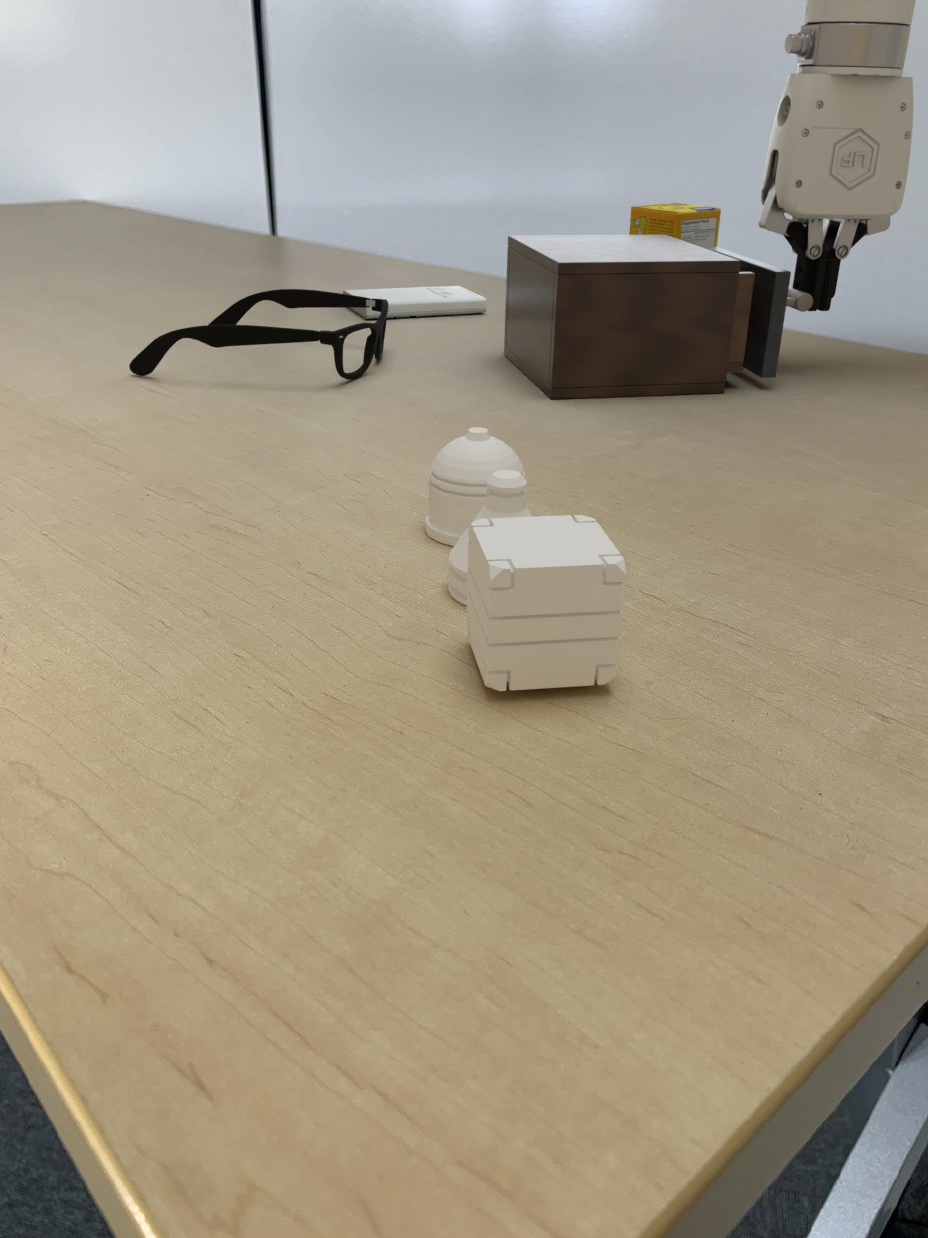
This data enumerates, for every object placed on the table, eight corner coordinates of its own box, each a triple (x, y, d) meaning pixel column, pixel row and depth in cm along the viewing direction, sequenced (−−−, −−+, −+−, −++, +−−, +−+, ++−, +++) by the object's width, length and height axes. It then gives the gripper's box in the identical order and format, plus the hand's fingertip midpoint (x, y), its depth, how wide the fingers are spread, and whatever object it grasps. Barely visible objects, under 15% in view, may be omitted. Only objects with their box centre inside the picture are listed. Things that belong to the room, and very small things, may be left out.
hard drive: (342, 305, 112) (457, 299, 116) (366, 320, 105) (486, 313, 109) (342, 288, 111) (457, 283, 115) (366, 303, 104) (487, 296, 108)
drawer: (750, 338, 97) (763, 245, 93) (826, 375, 85) (843, 270, 81) (568, 343, 93) (573, 247, 90) (620, 382, 82) (629, 273, 78)
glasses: (348, 405, 81) (349, 336, 78) (123, 377, 83) (118, 310, 81) (404, 356, 95) (406, 297, 93) (211, 333, 98) (209, 275, 96)
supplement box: (661, 320, 108) (672, 201, 103) (709, 330, 104) (723, 207, 99) (619, 327, 105) (629, 204, 100) (667, 338, 100) (680, 210, 96)
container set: (618, 693, 42) (631, 560, 39) (483, 702, 41) (487, 567, 39) (515, 509, 60) (519, 410, 57) (419, 513, 59) (419, 412, 56)
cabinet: (655, 350, 96) (666, 234, 92) (724, 393, 83) (741, 260, 79) (503, 354, 93) (507, 235, 89) (551, 399, 80) (558, 262, 76)
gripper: (781, 49, 76) (745, 318, 85) (973, 56, 79) (919, 316, 87) (736, 51, 83) (706, 300, 91) (914, 57, 86) (870, 298, 94)
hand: (810, 307), depth 89 cm, fingers closed
